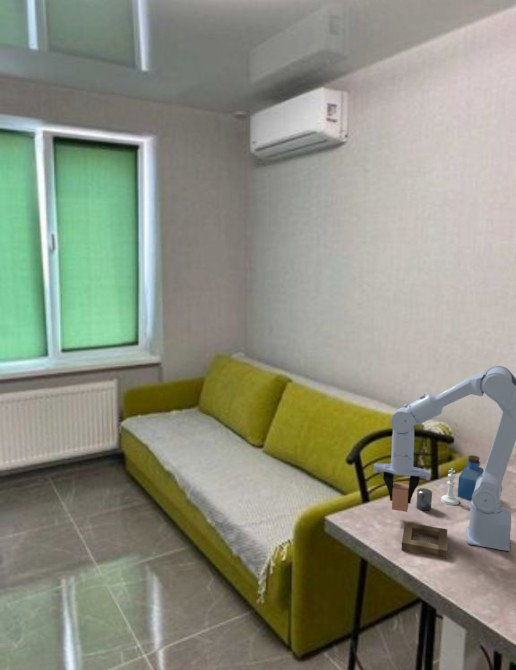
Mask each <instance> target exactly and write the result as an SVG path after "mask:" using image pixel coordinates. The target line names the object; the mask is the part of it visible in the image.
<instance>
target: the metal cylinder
mask: <svg viewBox="0 0 516 670" xmlns="http://www.w3.org/2000/svg"><path fill="white" fill-rule="evenodd" d="M432 501H433V491H432V490H431V489H428V488H425V487H424V488H417V491H416V506H415V507H416V509H417V510H419V511H421V512H430V511H432V504H433V503H432Z"/></svg>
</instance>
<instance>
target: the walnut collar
mask: <svg viewBox="0 0 516 670" xmlns="http://www.w3.org/2000/svg"><path fill="white" fill-rule="evenodd" d="M413 535H414V536H419V537H420V536H421V537H425V538H430V539H437V540H438V542H437V544H436V543H430V542H424V541H419V540H414V539H413ZM401 539H402V540H401V549H400V550H401V551H404V552H409V553H415V554H418V555H419V554H420V555H424V556H430V557H435V558H439V559H440V558H442V559H448V529H447V528H441V527H438V526H437V527H435V526H429V525H425V524H418V523H414V522H413V523H412V522H407V521H405V522H404V526H403V533H402V538H401Z"/></svg>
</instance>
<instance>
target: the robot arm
mask: <svg viewBox="0 0 516 670" xmlns="http://www.w3.org/2000/svg"><path fill="white" fill-rule="evenodd" d="M484 394H485V396H487V397H489V399H491V400H492V401H494V402H495V403H496V404H497V406H498V407H499V408H500V410H501V411H502V414H501V418H500V421H499V423H498V427H497V430H496V433H495V436H494V439H493V442H492V445H491V448H490V451H489V454H488V457H487V461H486V462H485V463H486V464H485V466H484V469H483V471H484V472H483V474H482V475H481V476H480V477H479V478H478V479H477V480H476V483H475V490H474V492H473V494H472V500H470V511H469V526H467V527H466V528H465V529H466V544H468V545H471V546H472V545H473V546H477V547H482V548H483V547H484V548H488V549H494V550H495V549H496V550H501V551H505V552H509V551H510V543H511V542H510V541H511V530H512V512H511V509H509V508H506V507H503V505H502V504H501V496H502V492H503V485H502V483H503V481H504V477H505V473H506V471H507V467H508V465H509V461H510V458H511V456H512V452H513V449H514V446H515V444H516V377H515V375H514V374H513V373H512V372H511V371H510V369H508V368H507V367H506V366H503V365H495V366H491V367H489V368H488V369H487V371H486V370H482V371H479V372H477V373H475V374H473V375H471V376H469V377H467V378H465V379H463V380H461V381H460V382H458V383H457V384H455V385H453V386H450V388H447V389H446V390H444V391H442V392H441V393H439V394H437V395H436V394H432V393H428V394H425V393H422V394H421V395H419V398H418V399H417V400H414V401H413V402H411V403H405V404H404V405H403V406H402V407H399V408H398V409H397V410H396V411H395V412H394V413H393V415H392V416H391V419H390V426H391V427H392V435H391V452H390V453H391V458H390V463H374V465H373V473H374V474H379V473H382V474H383V477H382V479H383V481H384V484H385V486H386V489H387V492H388V495H389V501H391V502H392V493H393V485H394V479H395V478H394V477H395V475H396V476H404V477H409V481H408V482H409V483H408V484H409V495H408V505H409V504H411V503H412V502H411V501H412V498H413V494H414V493H415V491H416V488H417V487H418V486H419V484H420V479H425V480H426V481H430V480H431V470H430V469H429V470H428V469H424V468H420V467H415V466H414V455H415V426H416V425H422V424H423V423H425V422H427V421H429V420H432V419H434V418H436V417H437V416H439V415H441V414H442V412H443V408H445V407H446V406H448V405H451V404H453V403H455V402H457V401H460V400H461V399H464V398H465V397H468V396H470V395H473V396H478V397H483V396H484Z"/></svg>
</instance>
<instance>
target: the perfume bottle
mask: <svg viewBox="0 0 516 670" xmlns="http://www.w3.org/2000/svg"><path fill="white" fill-rule="evenodd" d="M467 457H468V459H467V460H466V462H467V463H466V464H467V465H466V466H465V467H464V469H463V470H462V472H461V474H460V475H459V477H458V484H457V486H458V487H457V498H462V499H466V500H468V501H472V494H473V492H474V490H475V483H476V480H477V479H478V478H479V477H480V476H481V475H482V474H483V472H484V469H483V467H481V466H480V465H481V464H480V463H481V462H480V456H477V455H468V456H467Z"/></svg>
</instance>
